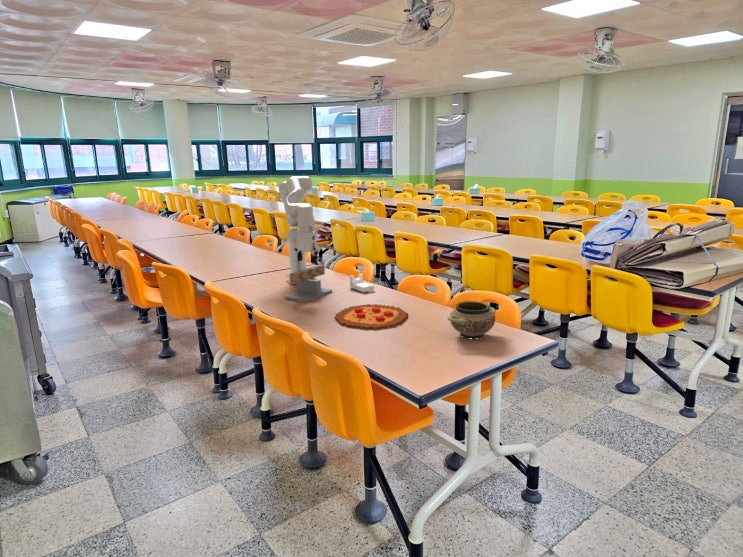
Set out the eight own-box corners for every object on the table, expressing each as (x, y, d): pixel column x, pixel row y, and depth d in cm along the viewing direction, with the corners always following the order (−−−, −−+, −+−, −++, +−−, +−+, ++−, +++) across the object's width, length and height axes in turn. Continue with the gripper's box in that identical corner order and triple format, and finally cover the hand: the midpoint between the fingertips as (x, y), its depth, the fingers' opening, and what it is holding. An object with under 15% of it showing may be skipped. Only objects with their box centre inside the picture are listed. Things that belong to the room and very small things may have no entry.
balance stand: (285, 298, 252) (284, 281, 250) (311, 289, 270) (311, 272, 268) (306, 302, 245) (305, 284, 243) (332, 292, 263) (331, 275, 261)
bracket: (350, 288, 270) (349, 275, 269) (360, 286, 274) (360, 273, 273) (363, 293, 260) (363, 280, 258) (374, 291, 264) (373, 278, 262)
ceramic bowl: (482, 331, 209) (477, 297, 208) (513, 333, 193) (507, 296, 193) (437, 343, 196) (432, 307, 196) (467, 346, 181) (461, 307, 181)
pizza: (389, 304, 242) (389, 298, 241) (418, 323, 213) (418, 317, 212) (328, 312, 230) (327, 306, 230) (349, 334, 201) (349, 327, 201)
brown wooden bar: (319, 273, 266) (319, 264, 265) (324, 273, 264) (324, 264, 263) (290, 282, 247) (289, 273, 245) (295, 283, 245) (295, 274, 243)
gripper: (323, 229, 248) (324, 262, 252) (297, 227, 257) (299, 258, 261) (314, 231, 242) (315, 265, 246) (288, 229, 250) (289, 261, 255)
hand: (307, 261), depth 254 cm, fingers open, 9 cm apart
